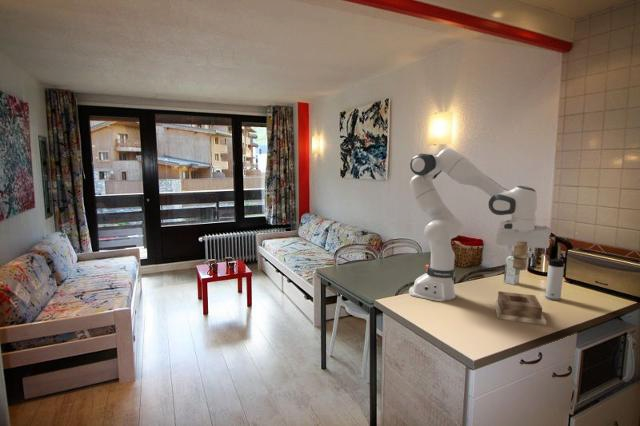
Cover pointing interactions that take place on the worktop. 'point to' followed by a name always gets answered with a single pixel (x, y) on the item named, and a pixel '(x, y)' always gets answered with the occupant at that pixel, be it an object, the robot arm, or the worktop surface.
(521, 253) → the oak peg
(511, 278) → the syrup box
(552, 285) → the travel mug
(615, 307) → the worktop surface
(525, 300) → the socket board
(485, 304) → the worktop surface
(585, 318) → the worktop surface
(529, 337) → the worktop surface
